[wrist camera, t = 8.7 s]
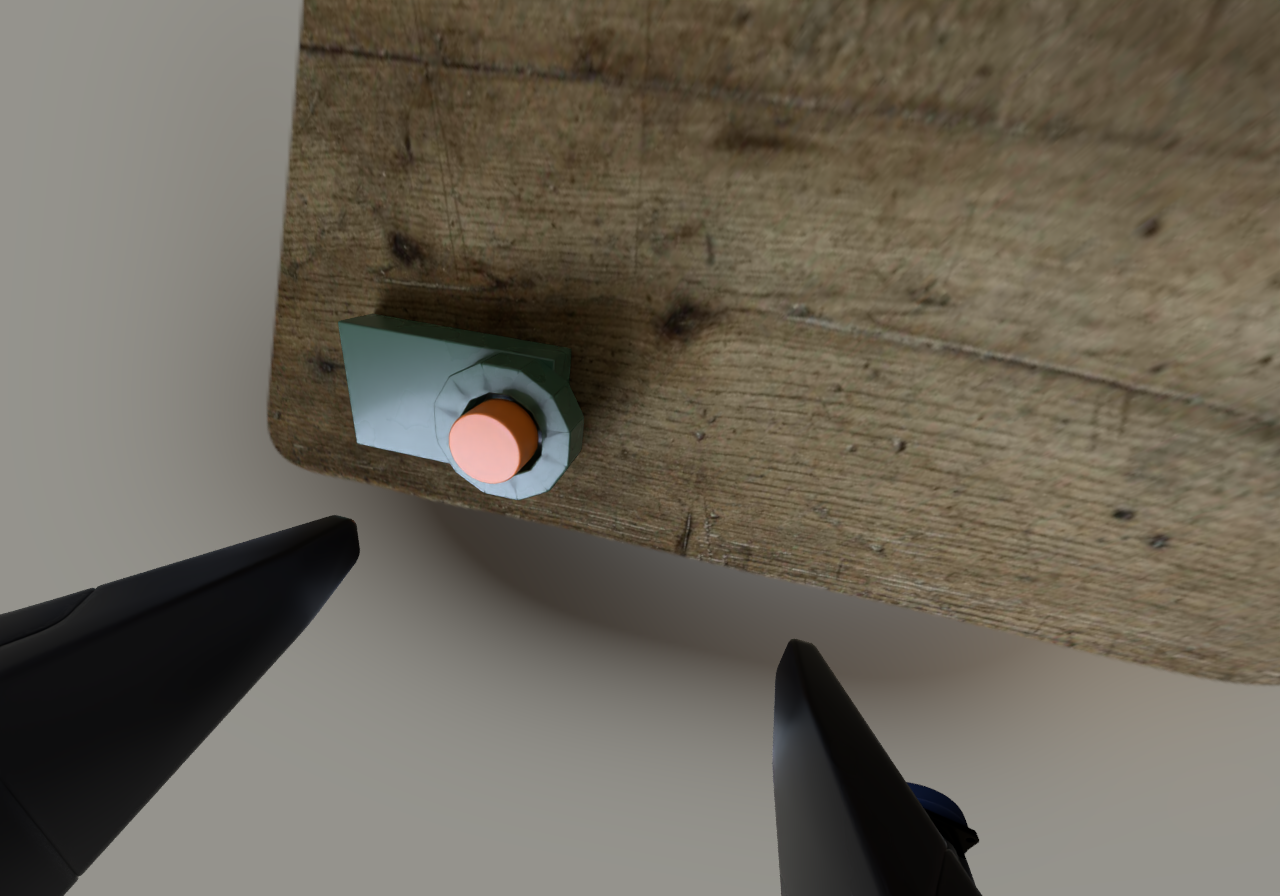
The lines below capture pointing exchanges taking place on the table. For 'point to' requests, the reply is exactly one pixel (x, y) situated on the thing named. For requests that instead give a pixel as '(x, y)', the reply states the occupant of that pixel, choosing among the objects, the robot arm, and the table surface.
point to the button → (493, 440)
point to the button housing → (458, 393)
